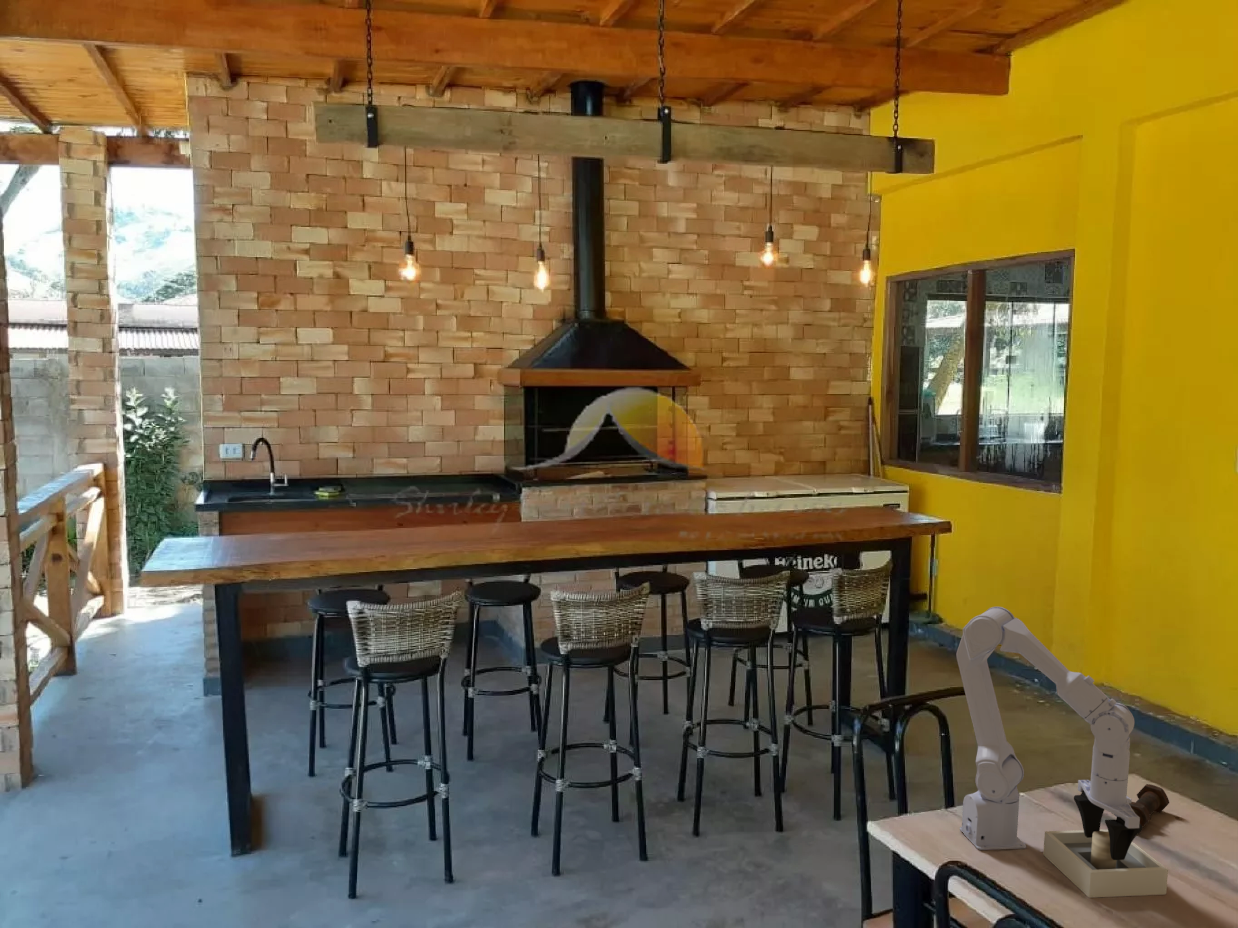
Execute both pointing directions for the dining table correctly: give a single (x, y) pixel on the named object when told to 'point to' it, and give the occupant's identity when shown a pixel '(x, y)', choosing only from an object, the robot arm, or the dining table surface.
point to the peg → (1101, 851)
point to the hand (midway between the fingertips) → (1104, 847)
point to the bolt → (1149, 802)
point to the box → (1126, 880)
